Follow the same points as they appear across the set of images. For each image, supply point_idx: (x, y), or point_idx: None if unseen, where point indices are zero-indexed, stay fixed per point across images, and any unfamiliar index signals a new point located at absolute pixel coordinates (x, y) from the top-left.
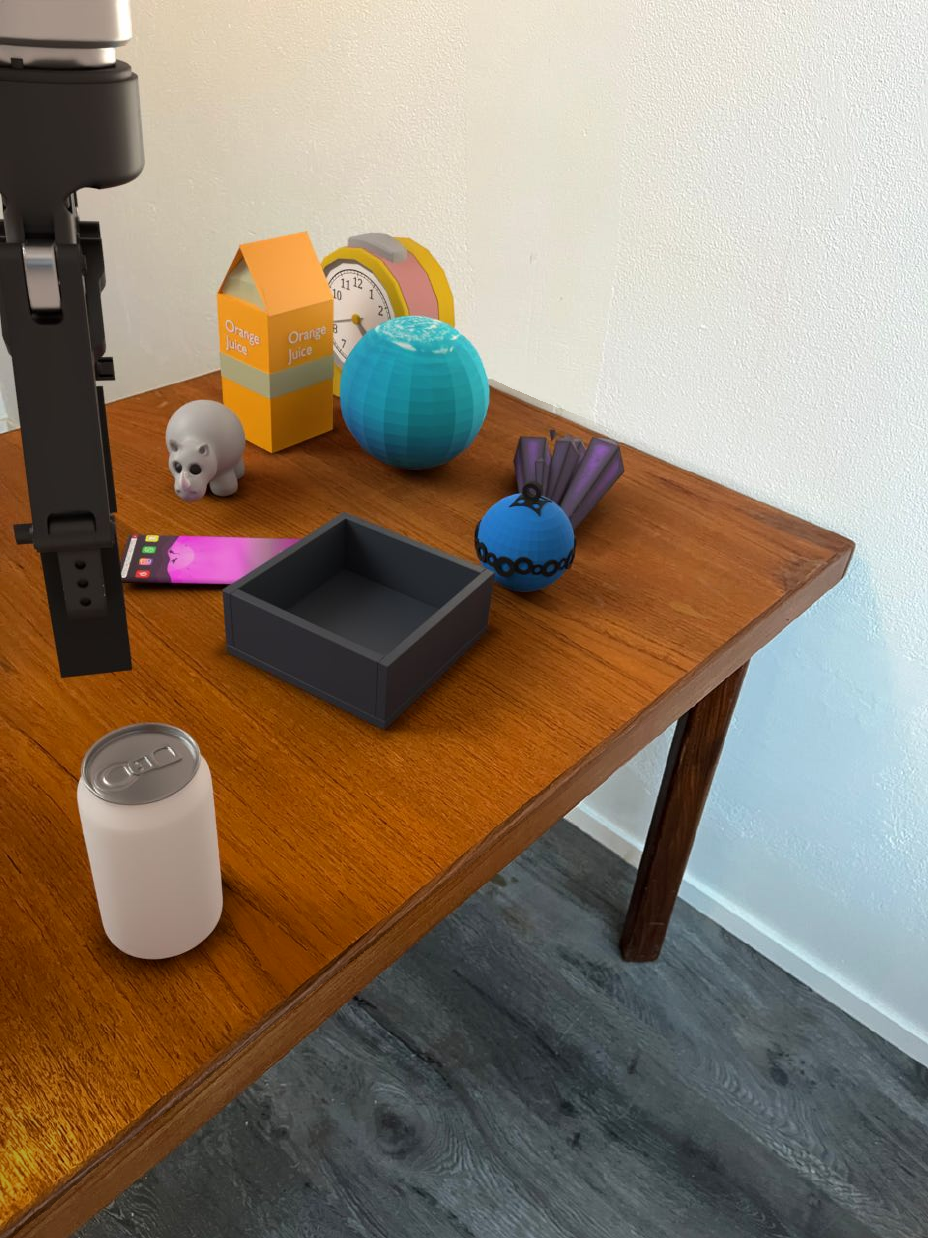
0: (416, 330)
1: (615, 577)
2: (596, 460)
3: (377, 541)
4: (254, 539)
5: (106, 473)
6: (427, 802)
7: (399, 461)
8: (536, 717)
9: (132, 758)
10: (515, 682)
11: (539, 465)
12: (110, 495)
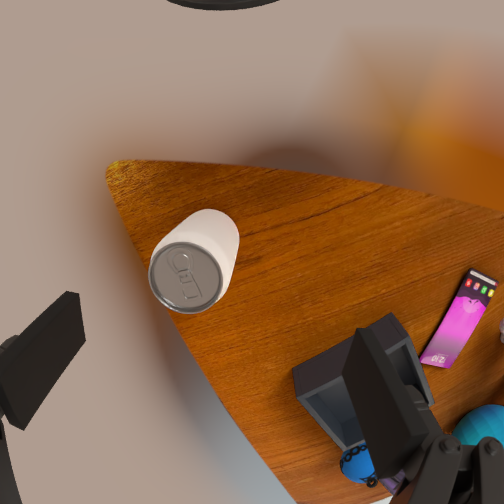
0: None
1: (340, 469)
2: (396, 489)
3: None
4: (463, 344)
5: (354, 398)
6: (235, 368)
7: (463, 420)
8: (269, 422)
9: (194, 273)
10: (296, 423)
11: None
12: (347, 382)
